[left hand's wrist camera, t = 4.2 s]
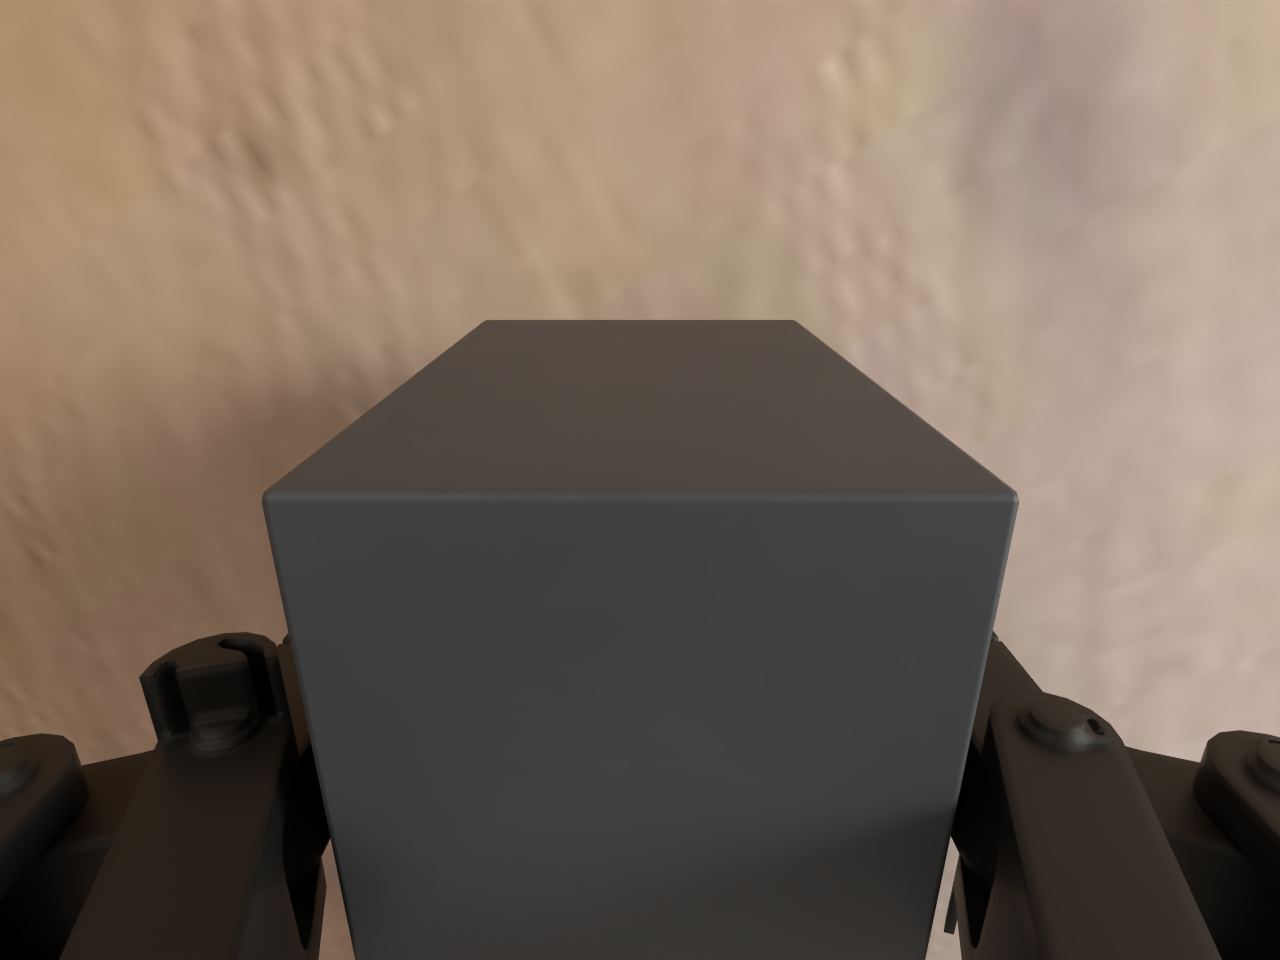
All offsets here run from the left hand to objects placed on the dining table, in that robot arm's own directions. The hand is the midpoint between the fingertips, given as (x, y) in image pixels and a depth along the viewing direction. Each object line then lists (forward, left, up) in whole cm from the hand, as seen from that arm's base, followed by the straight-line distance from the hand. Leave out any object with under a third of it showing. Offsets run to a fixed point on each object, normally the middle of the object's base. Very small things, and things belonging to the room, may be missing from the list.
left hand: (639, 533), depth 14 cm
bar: (+12, 0, -1) cm, 12 cm away
